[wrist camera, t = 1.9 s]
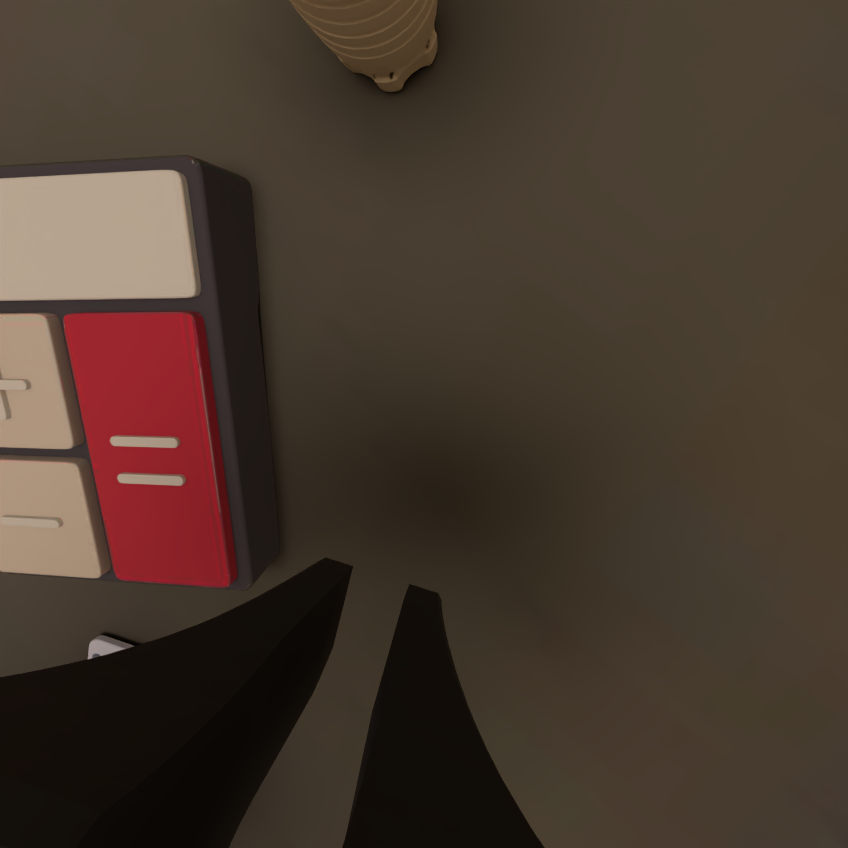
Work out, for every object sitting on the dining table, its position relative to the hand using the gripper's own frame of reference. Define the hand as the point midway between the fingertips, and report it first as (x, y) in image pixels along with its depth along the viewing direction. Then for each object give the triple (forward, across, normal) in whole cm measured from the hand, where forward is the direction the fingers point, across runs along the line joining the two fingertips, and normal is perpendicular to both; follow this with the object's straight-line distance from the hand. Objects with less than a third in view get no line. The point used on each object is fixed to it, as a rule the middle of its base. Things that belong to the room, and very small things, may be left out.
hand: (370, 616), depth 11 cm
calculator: (+10, +12, 0) cm, 16 cm away
